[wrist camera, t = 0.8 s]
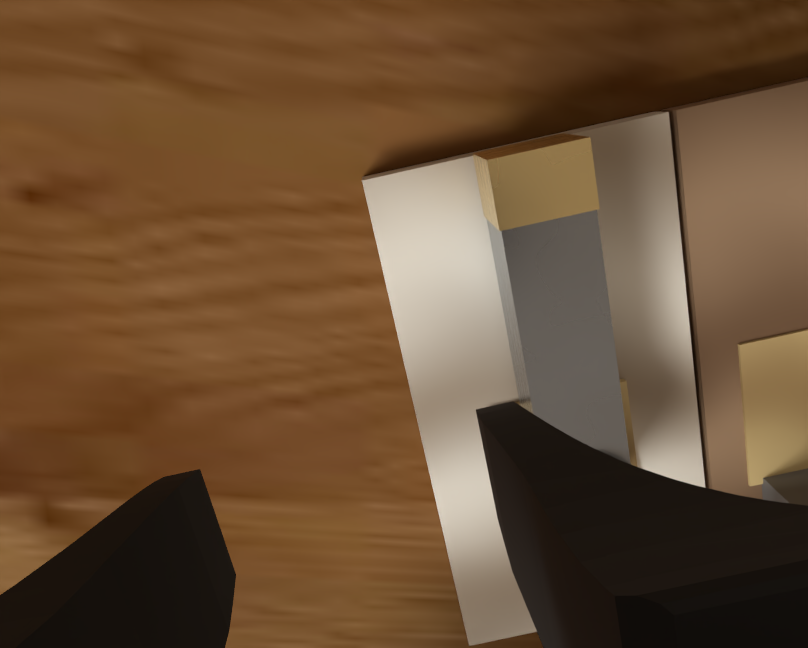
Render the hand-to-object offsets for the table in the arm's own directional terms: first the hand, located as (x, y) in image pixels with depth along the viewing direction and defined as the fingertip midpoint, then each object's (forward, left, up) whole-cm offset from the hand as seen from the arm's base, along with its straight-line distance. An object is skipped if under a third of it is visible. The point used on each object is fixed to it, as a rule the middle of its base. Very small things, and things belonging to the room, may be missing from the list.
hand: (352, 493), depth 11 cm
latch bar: (-1, -5, -8) cm, 10 cm away
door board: (-3, -9, -9) cm, 14 cm away
